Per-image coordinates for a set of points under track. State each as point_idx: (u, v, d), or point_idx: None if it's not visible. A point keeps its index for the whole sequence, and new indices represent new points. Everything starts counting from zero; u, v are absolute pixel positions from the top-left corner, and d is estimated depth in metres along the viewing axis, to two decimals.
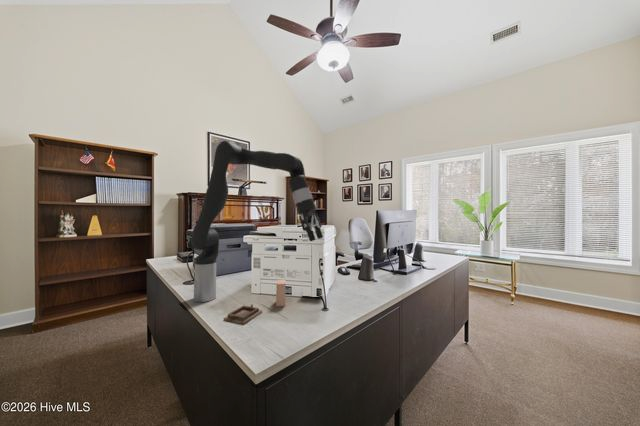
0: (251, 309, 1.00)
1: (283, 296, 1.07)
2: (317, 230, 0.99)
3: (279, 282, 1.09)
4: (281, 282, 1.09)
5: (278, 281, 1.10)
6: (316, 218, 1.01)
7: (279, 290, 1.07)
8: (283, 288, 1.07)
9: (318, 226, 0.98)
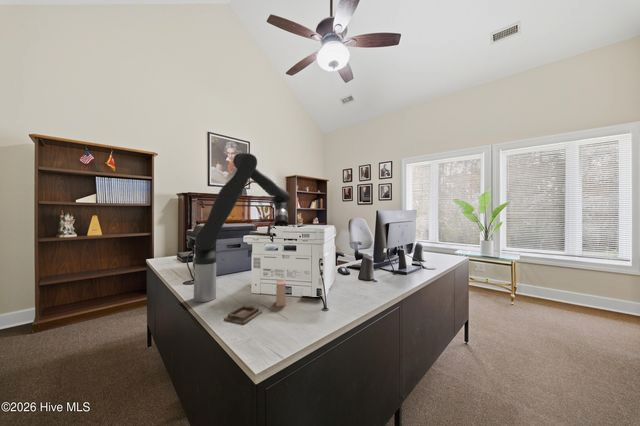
0: (251, 309, 1.00)
1: (283, 296, 1.07)
2: None
3: (279, 282, 1.09)
4: (281, 282, 1.09)
5: (278, 281, 1.10)
6: None
7: (279, 290, 1.07)
8: (283, 288, 1.07)
9: None
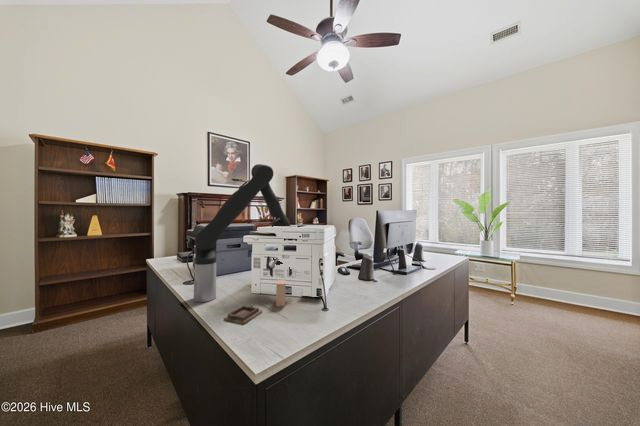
0: (251, 309, 1.00)
1: (283, 296, 1.07)
2: (272, 269, 1.17)
3: (279, 282, 1.09)
4: (281, 282, 1.09)
5: (278, 281, 1.10)
6: (269, 261, 1.21)
7: (279, 290, 1.07)
8: (283, 288, 1.07)
9: None
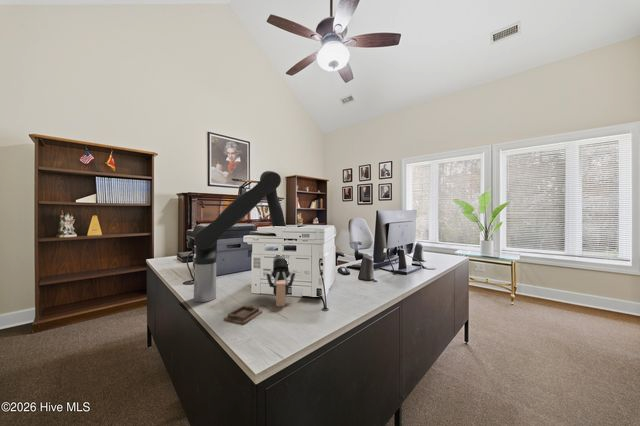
0: (251, 309, 1.00)
1: (283, 296, 1.07)
2: None
3: (279, 282, 1.09)
4: (281, 282, 1.09)
5: (278, 281, 1.10)
6: None
7: (279, 290, 1.07)
8: (283, 288, 1.07)
9: None
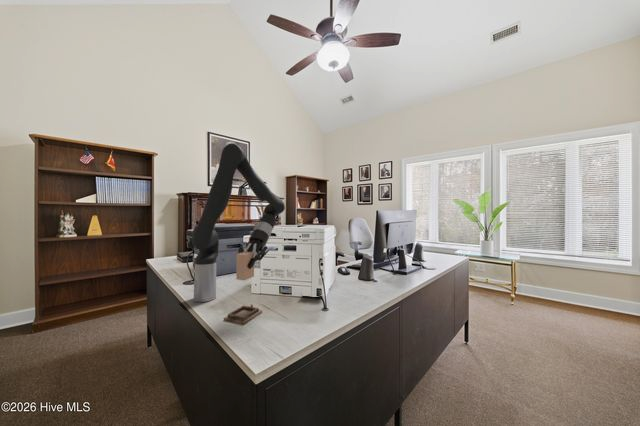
0: (251, 309, 1.00)
1: (243, 269, 0.93)
2: None
3: (242, 253, 0.96)
4: (244, 253, 0.95)
5: (244, 252, 0.98)
6: (243, 250, 1.03)
7: (239, 261, 0.94)
8: (243, 260, 0.93)
9: None
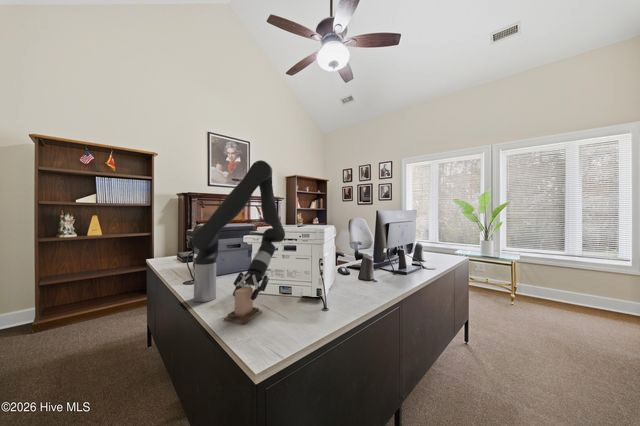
0: None
1: (241, 306, 0.93)
2: (239, 288, 0.99)
3: (241, 289, 0.96)
4: (242, 290, 0.95)
5: (243, 288, 0.97)
6: None
7: (237, 298, 0.94)
8: (241, 297, 0.93)
9: (242, 287, 1.01)
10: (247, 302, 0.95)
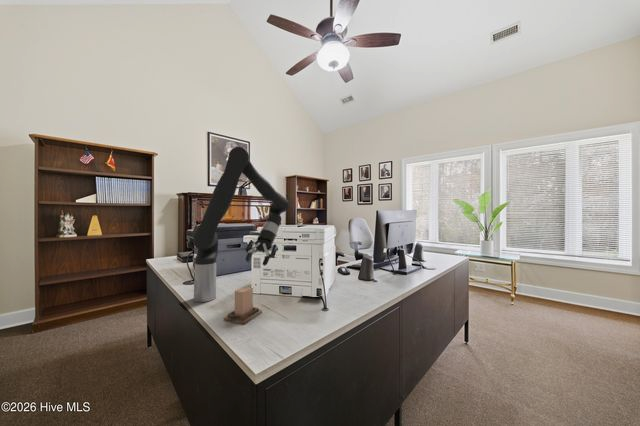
0: None
1: (241, 306, 0.93)
2: (250, 254, 1.12)
3: (241, 289, 0.96)
4: (242, 290, 0.95)
5: (243, 288, 0.97)
6: None
7: (237, 298, 0.94)
8: (241, 297, 0.93)
9: (253, 253, 1.13)
10: (247, 302, 0.95)
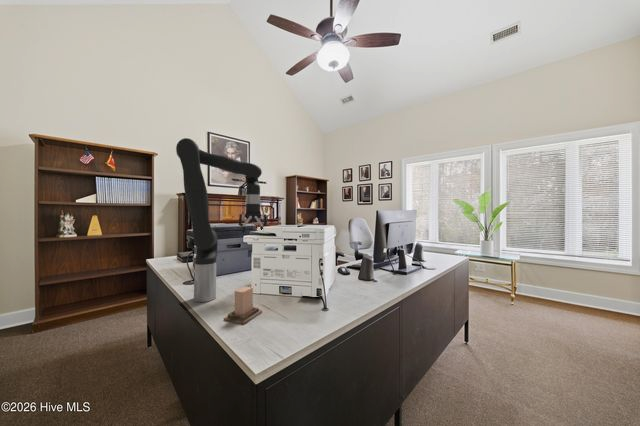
0: None
1: (241, 306, 0.93)
2: None
3: (241, 289, 0.96)
4: (242, 290, 0.95)
5: (243, 288, 0.97)
6: (241, 217, 1.26)
7: (237, 298, 0.94)
8: (241, 297, 0.93)
9: None
10: (247, 302, 0.95)
